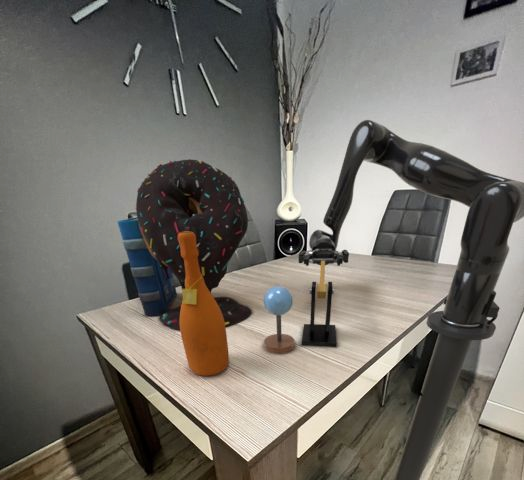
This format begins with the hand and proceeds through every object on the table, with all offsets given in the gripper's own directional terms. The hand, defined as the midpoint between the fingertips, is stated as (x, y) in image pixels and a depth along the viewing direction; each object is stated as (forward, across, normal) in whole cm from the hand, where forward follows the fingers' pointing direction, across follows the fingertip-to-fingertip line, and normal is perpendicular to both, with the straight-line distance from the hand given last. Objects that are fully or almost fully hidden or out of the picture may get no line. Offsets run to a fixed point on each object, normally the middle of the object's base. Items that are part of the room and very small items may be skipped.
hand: (323, 262), depth 75 cm
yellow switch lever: (+4, 0, +4) cm, 6 cm away
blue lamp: (+16, -10, +18) cm, 26 cm away
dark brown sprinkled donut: (-5, -39, +18) cm, 43 cm away
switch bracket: (+10, 0, +18) cm, 21 cm away
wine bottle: (+28, -26, +18) cm, 42 cm away
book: (-12, -59, +18) cm, 63 cm away
